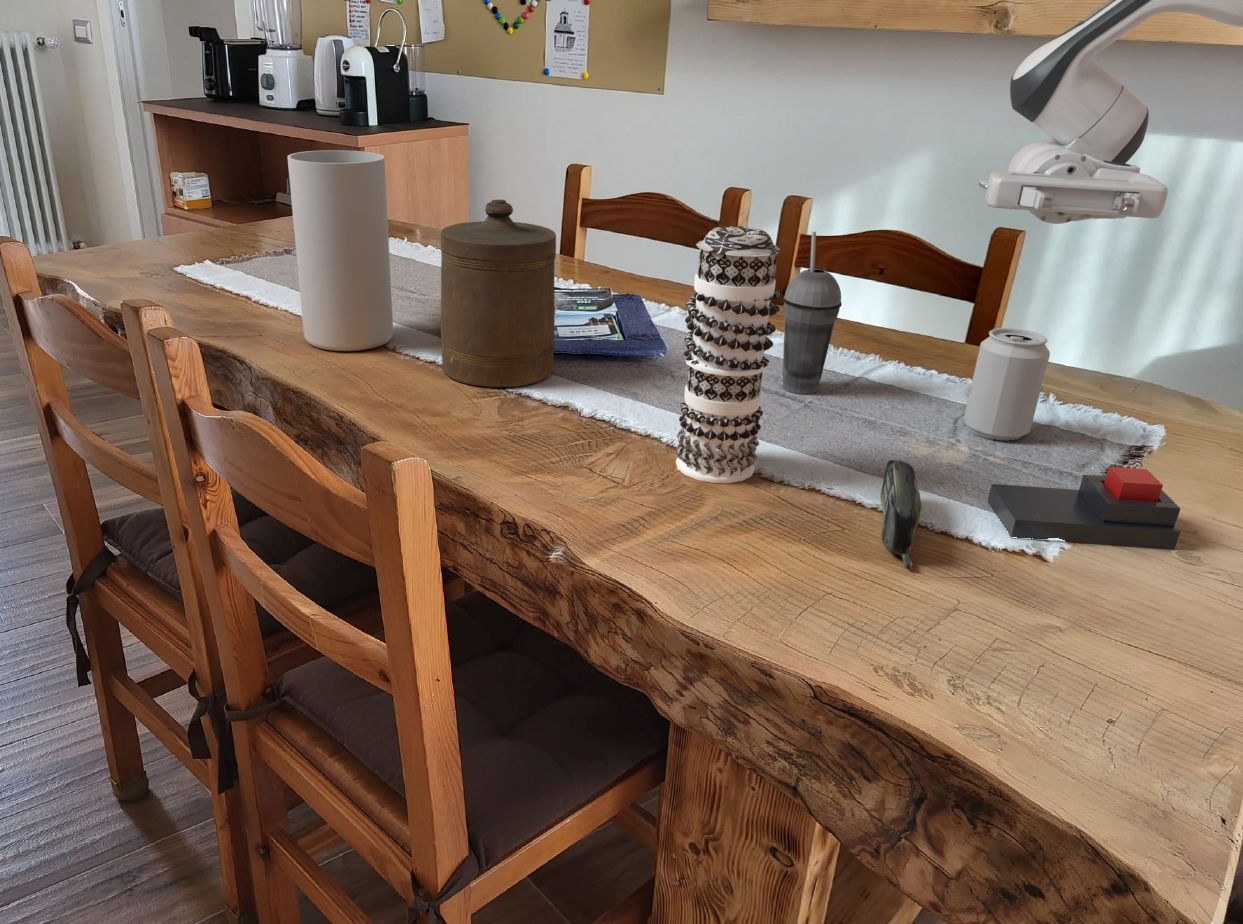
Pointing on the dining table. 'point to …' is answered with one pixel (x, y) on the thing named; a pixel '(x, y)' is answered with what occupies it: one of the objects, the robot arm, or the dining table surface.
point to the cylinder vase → (342, 248)
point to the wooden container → (497, 300)
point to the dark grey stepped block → (1086, 515)
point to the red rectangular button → (1132, 484)
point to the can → (1006, 384)
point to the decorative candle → (727, 354)
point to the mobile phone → (900, 509)
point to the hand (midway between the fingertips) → (1088, 205)
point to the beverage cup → (808, 326)
